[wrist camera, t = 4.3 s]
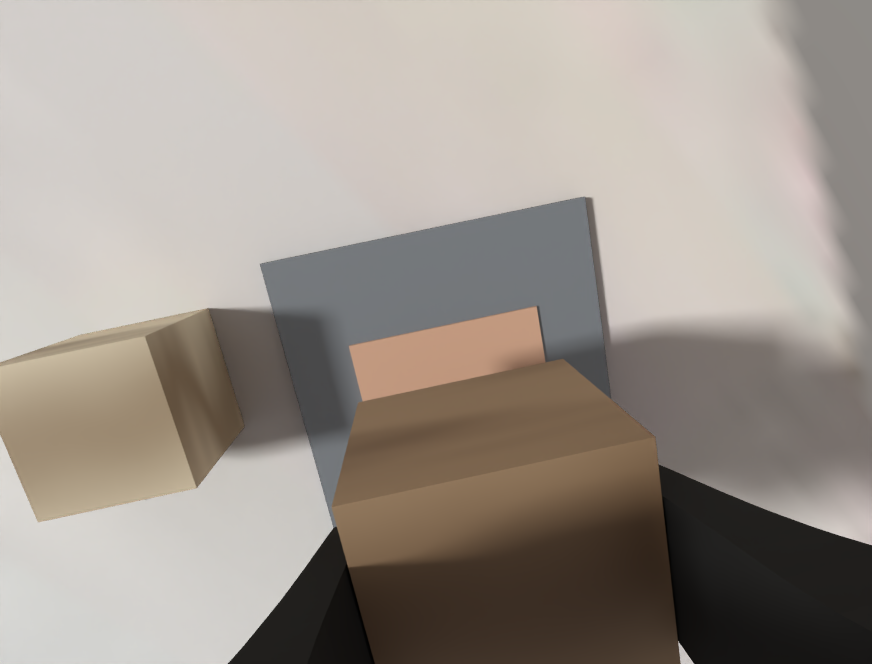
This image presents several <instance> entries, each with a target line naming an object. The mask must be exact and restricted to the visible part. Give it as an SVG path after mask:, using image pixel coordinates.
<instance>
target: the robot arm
mask: <svg viewBox="0 0 872 664" xmlns="http://www.w3.org/2000/svg"><path fill="white" fill-rule="evenodd" d="M658 466H659V475H660V484H661V493H662V502H663V511H664V520H665V529H666V538H667V547H668V556H669V565H670V574H671V583H672V592H673V601H674V610H675V619H676V628H677V637H678V641H679V643H680V644H681V645H682V647H683V648H684V650H685V651H686V653H687V654H688V656H689V657H690V658H691V660H692V661H693V663H694V664H872V545H869V544H865V543H862V542H859V541H855V540H852V539H849V538H845V537H842V536H839V535H835V534H832V533H829V532H826V531H823V530H820V529H817V528H814V527H811V526H809V525H806V524H803V523H800V522H798V521H795V520H792V519H789V518H787V517H784V516H781V515H778V514H776V513H773V512H770V511H768V510H765V509H763V508H760V507H758V506H755V505H752V504H750V503H747V502H745V501H743V500H740V499H738V498H735V497H733V496H730V495H728V494H726V493H723V492H721V491H719V490H716V489H714V488H712V487H709V486H707V485H705V484H702V483H700V482H698V481H696V480H693V479H691V478H689V477H686V476H684V475H682V474H679V473H677V472H675V471H673V470H670V469H668V468H666V467H663V466H661V465H658ZM228 664H375V662H374V659H373V655H372V652H371V648H370V644H369V641H368V637H367V634H366V630H365V626H364V623H363V619H362V616H361V612H360V608H359V605H358V601H357V598H356V594H355V590H354V587H353V583H352V579H351V576H350V572H349V569H348V565H347V561H346V558H345V554H344V551H343V547H342V543H341V540H340V536H339V533H338V529H337V527H334V528H333V530H332V531H331V532H330V534H329V535H328V536H327V538H326V539H325V541H324V542H323V543H322V545H321V546H320V548H319V549H318V550H317V552H316V553H315V555H314V556H313V557H312V559H311V560H310V562H309V563H308V564H307V566H306V567H305V569H304V570H303V571H302V573H301V574H300V575H299V577H298V578H297V580H296V581H295V582H294V584H293V585H292V586H291V588H290V589H289V590H288V592H287V593H286V594H285V596H284V597H283V598H282V600H281V601H280V602H279V603H278V605H277V606H276V607H275V608H274V610H273V611H272V612H271V613H270V614H269V616H268V617H267V618H266V619H265V621H264V622H263V623H262V624H261V625H260V627H259V628H258V629H257V630H256V632H255V633H254V634H253V635H252V637H251V638H250V639H249V640H248V641H247V643H246V644H245V645H244V646H243V647H242V648H241V650H240V651H239V652H238V653H237V654H236V655H235V656H234V658H233V659H232V660H231V661H230V662H229V663H228Z"/></svg>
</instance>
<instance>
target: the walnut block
mask: <svg viewBox="0 0 872 664" xmlns="http://www.w3.org/2000/svg"><path fill="white" fill-rule="evenodd" d="M332 511H333V515H334V518H335V522H336V525H337V529H338V533H339V536H340V540H341V543H342V547H343V551H344V554H345V558H346V561H347V565H348V569H349V572H350V576H351V579H352V583H353V587H354V590H355V594H356V598H357V601H358V605H359V608H360V612H361V616H362V619H363V623H364V626H365V630H366V634H367V637H368V641H369V644H370V648H371V652H372V655H373V659H374V662H375V664H680V655H679V646H678V637H677V628H676V619H675V610H674V601H673V592H672V583H671V574H670V565H669V556H668V547H667V538H666V529H665V520H664V511H663V502H662V493H661V484H660V475H659V466H658V457H657V448H656V439H655V436H654V435H652V434H651V433H650V432H649V431H648V430H646V429H645V428H644V427H643V426H642V425H641V424H639V423H638V422H637V421H636V420H635V419H634V418H632V417H631V416H630V415H629V414H628V413H626V412H625V411H624V410H623V409H622V408H621V407H619V406H618V405H617V404H616V403H615V402H613V401H612V400H611V399H610V398H609V397H608V396H606V395H605V394H604V393H603V392H602V391H601V390H599V389H598V388H597V387H596V386H595V385H593V384H592V383H591V382H590V381H589V380H588V379H586V378H585V377H584V376H583V375H582V374H580V373H579V372H578V371H577V370H576V369H575V368H573V367H572V366H571V365H570V364H569V363H567V362H566V361H565V360H564V359H559V360H555V361H550V362H545V363H540V364H536V365H531V366H526V367H522V368H517V369H512V370H508V371H503V372H498V373H494V374H489V375H484V376H480V377H475V378H470V379H465V380H461V381H456V382H451V383H447V384H442V385H437V386H433V387H428V388H423V389H419V390H414V391H409V392H404V393H400V394H395V395H390V396H386V397H381V398H376V399H372V400H367V401H362V402H358V405H357V409H356V413H355V417H354V420H353V424H352V428H351V432H350V436H349V440H348V444H347V448H346V452H345V456H344V460H343V464H342V468H341V472H340V476H339V479H338V483H337V487H336V491H335V495H334V499H333V503H332Z"/></svg>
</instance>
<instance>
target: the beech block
mask: <svg viewBox="0 0 872 664" xmlns="http://www.w3.org/2000/svg"><path fill="white" fill-rule="evenodd" d="M243 428H244V422H243V419H242V416H241V413H240V410H239V406H238V403H237V400H236V397H235V393H234V390H233V387H232V384H231V380H230V377H229V374H228V371H227V367H226V364H225V361H224V358H223V354H222V351H221V348H220V345H219V341H218V338H217V335H216V332H215V328H214V325H213V322H212V319H211V316H210V312H209V309H208V308H207V309H202V310H197V311H193V312H188V313H183V314H178V315H173V316H169V317H164V318H159V319H154V320H149V321H144V322H140V323H135V324H130V325H125V326H120V327H116V328H111V329H106V330H101V331H96V332H92V333H87V334H82V335H78V336H75V337H73V338H70V339H67V340H64V341H61V342H58V343H55V344H52V345H50V346H47V347H44V348H41V349H38V350H35V351H32V352H29V353H27V354H24V355H21V356H18V357H15V358H12V359H9V360H6V361H3V362H1V363H0V435H1V437H2V439H3V442H4V444H5V446H6V449H7V451H8V453H9V456H10V458H11V460H12V463H13V465H14V467H15V470H16V472H17V474H18V477H19V479H20V481H21V484H22V486H23V488H24V491H25V493H26V495H27V498H28V500H29V502H30V505H31V507H32V509H33V512H34V514H35V516H36V519H37V521H38V522H42V521H47V520H51V519H56V518H61V517H65V516H70V515H75V514H79V513H84V512H88V511H93V510H98V509H102V508H107V507H112V506H116V505H121V504H126V503H130V502H135V501H140V500H144V499H149V498H153V497H158V496H163V495H167V494H172V493H177V492H181V491H186V490H191V489H195V488H197V487H198V486H199V485H200V483H201V482H202V481H203V479H204V478H205V477H206V476H207V474H208V473H209V472H210V470H211V469H212V468H213V466H214V465H215V464H216V463H217V461H218V460H219V459H220V457H221V456H222V455H223V454H224V452H225V451H226V450H227V448H228V447H229V446H230V445H231V443H232V442H233V441H234V439H235V438H236V437H237V436H238V434H239V433H240V432H241V430H242V429H243Z"/></svg>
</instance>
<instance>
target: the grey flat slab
mask: <svg viewBox="0 0 872 664" xmlns="http://www.w3.org/2000/svg"><path fill="white" fill-rule="evenodd" d="M260 267H261V270H262V274H263V277H264V281H265V284H266V288H267V292H268V295H269V299H270V302H271V306H272V309H273V313H274V317H275V320H276V324H277V327H278V331H279V334H280V338H281V342H282V345H283V349H284V352H285V356H286V359H287V363H288V367H289V370H290V374H291V377H292V381H293V384H294V388H295V392H296V395H297V399H298V402H299V406H300V409H301V413H302V417H303V420H304V424H305V427H306V431H307V435H308V438H309V442H310V445H311V449H312V452H313V456H314V460H315V463H316V467H317V470H318V474H319V477H320V481H321V485H322V488H323V492H324V495H325V499H326V502H327V506H328V510H329V513H330V517H331V520H332V524H333V527H337V525H336V522H335V518H334V515H333V511H332V503H333V499H334V495H335V491H336V487H337V483H338V479H339V476H340V472H341V468H342V464H343V460H344V456H345V452H346V448H347V444H348V440H349V436H350V432H351V428H352V424H353V420H354V417H355V413H356V409H357V405H358V402H362V401H367V400H372V399H376V398H381V397H386V396H390V395H395V394H400V393H404V392H409V391H414V390H419V389H423V388H428V387H433V386H437V385H442V384H447V383H451V382H456V381H461V380H465V379H470V378H475V377H480V376H484V375H489V374H494V373H498V372H503V371H508V370H512V369H517V368H522V367H526V366H531V365H536V364H540V363H545V362H550V361H555V360H559V359H564V360H565V361H566V362H567V363H569V364H570V365H571V366H572V367H573V368H575V369H576V370H577V371H578V372H579V373H580V374H582V375H583V376H584V377H585V378H586V379H588V380H589V381H590V382H591V383H592V384H593V385H595V386H596V387H597V388H598V389H599V390H601V391H602V392H603V393H604V394H605V395H606V396H608V397H609V398H610V399H611V394H610V386H609V378H608V371H607V363H606V355H605V348H604V340H603V332H602V324H601V317H600V309H599V301H598V294H597V286H596V278H595V271H594V263H593V255H592V247H591V240H590V232H589V224H588V217H587V209H586V201H585V197H580V198H575V199H570V200H565V201H560V202H556V203H551V204H546V205H541V206H536V207H532V208H527V209H522V210H517V211H512V212H507V213H503V214H498V215H493V216H488V217H483V218H479V219H474V220H469V221H464V222H459V223H454V224H450V225H445V226H440V227H435V228H430V229H425V230H421V231H416V232H411V233H406V234H401V235H397V236H392V237H387V238H382V239H377V240H372V241H368V242H363V243H358V244H353V245H348V246H344V247H339V248H334V249H329V250H324V251H319V252H315V253H310V254H305V255H300V256H295V257H290V258H286V259H281V260H276V261H271V262H266V263H262V264H260Z"/></svg>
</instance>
